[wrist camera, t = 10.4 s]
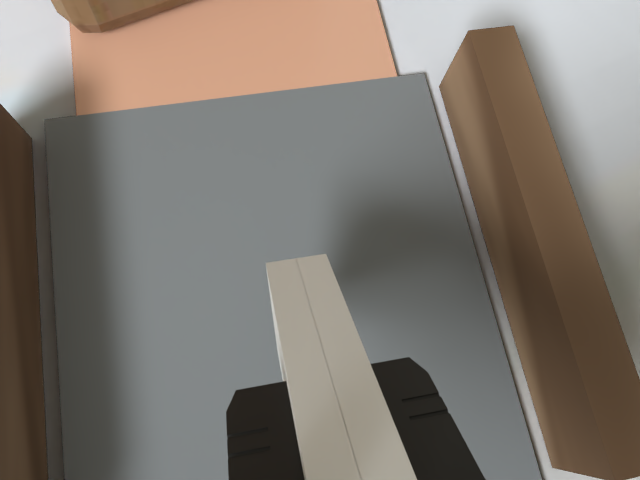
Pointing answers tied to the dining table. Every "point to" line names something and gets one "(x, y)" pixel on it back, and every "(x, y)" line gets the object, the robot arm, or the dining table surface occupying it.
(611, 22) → the dining table surface
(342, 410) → the robot arm
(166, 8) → the wooden block
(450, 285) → the grey square panel
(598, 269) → the lane rails
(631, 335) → the dining table surface
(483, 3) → the dining table surface
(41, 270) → the dining table surface
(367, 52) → the tile
